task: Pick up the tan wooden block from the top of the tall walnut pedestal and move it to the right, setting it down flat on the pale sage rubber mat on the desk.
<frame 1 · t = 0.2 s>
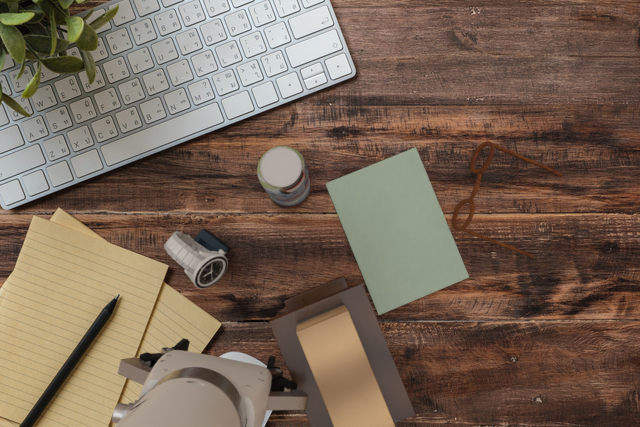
hand: (227, 361, 51), 16 cm above the table, tool pointing down, fingers open, 9 cm apart
beverage can: (286, 183, 68), on the table
pedestal: (329, 327, 67), on the table
watch: (207, 254, 67), on the table
glasses: (503, 201, 69), on the table
tan wooden block: (342, 368, 47), point 20 cm above the table, touching pedestal
mat: (396, 230, 68), on the table
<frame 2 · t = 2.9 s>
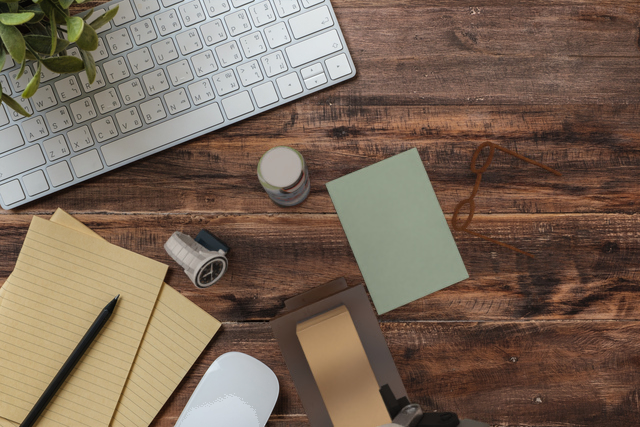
nothing on the table moved.
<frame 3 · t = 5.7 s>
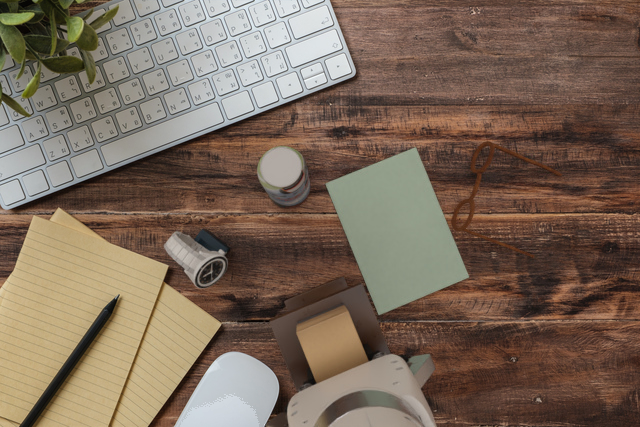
hand: (343, 370, 47), 21 cm above the table, tool pointing down, fingers closed on tan wooden block, 5 cm apart
tan wooden block: (342, 368, 47), point 20 cm above the table, touching gripper, pedestal
everything else where it was.
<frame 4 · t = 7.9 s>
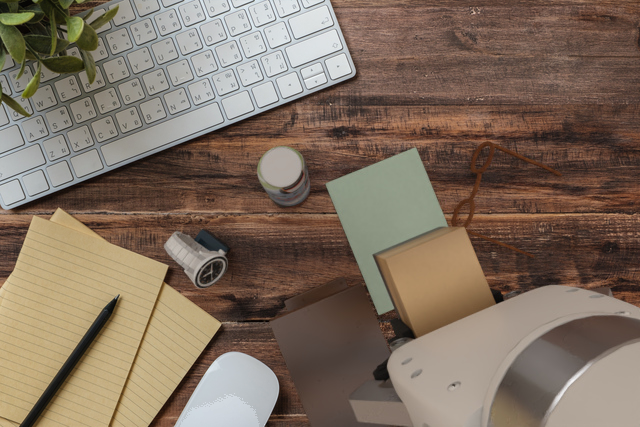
hand: (442, 324, 32), 36 cm above the table, tool pointing down, fingers closed on tan wooden block, 5 cm apart
tan wooden block: (439, 322, 32), point 35 cm above the table, touching gripper
everything else where it was.
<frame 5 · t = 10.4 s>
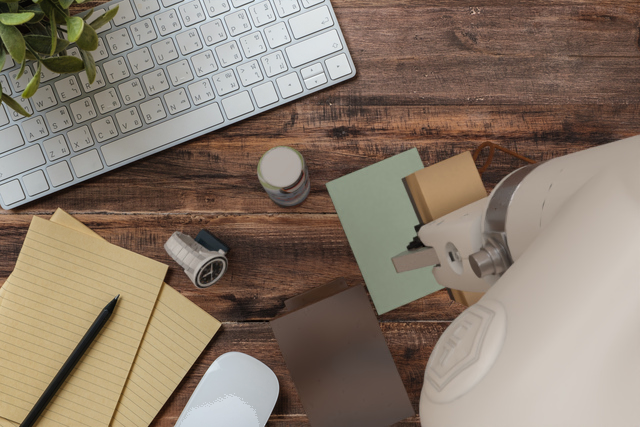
hand: (452, 229, 44), 25 cm above the table, tool pointing down, fingers closed on tan wooden block, 5 cm apart
tan wooden block: (450, 228, 44), point 24 cm above the table, touching gripper
everything else where it was.
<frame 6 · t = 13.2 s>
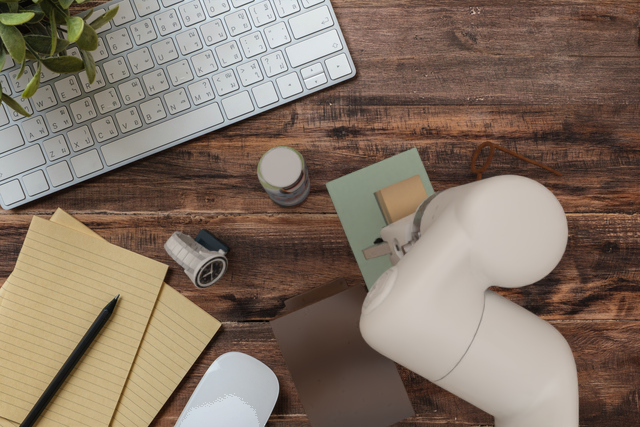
hand: (410, 229, 60), 8 cm above the table, tool pointing down, fingers closed on tan wooden block, 5 cm apart
tan wooden block: (409, 229, 61), point 7 cm above the table, touching gripper
everything else where it was.
when the fingers open (1 cm above the table, at t = 15.1 s): tan wooden block stays where it is, resting on mat.
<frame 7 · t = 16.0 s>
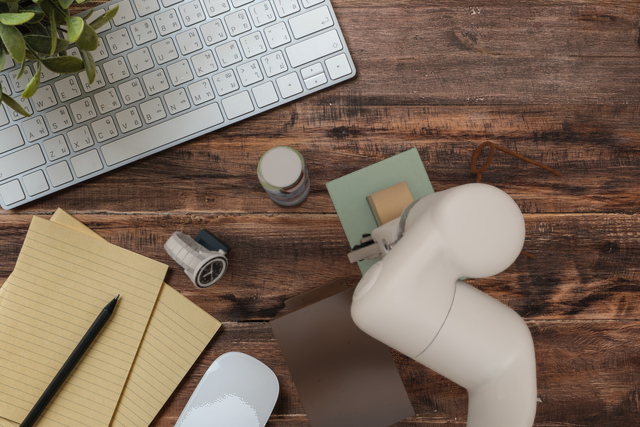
hand: (400, 231, 65), 3 cm above the table, tool pointing down, fingers open, 9 cm apart
tan wooden block: (397, 230, 68), resting on mat
everything else where it was.
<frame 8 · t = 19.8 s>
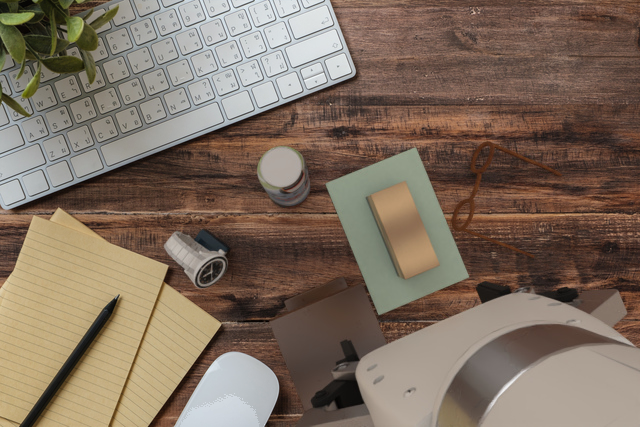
hand: (421, 333, 31), 36 cm above the table, tool pointing down, fingers open, 9 cm apart
nothing on the table moved.
at the end: tan wooden block inside the target area on the mat (0.1 cm from its centre), point 0.4 cm above the mat's base; tan wooden block tilted 0°; tan wooden block moved 25.8 cm from its start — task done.
